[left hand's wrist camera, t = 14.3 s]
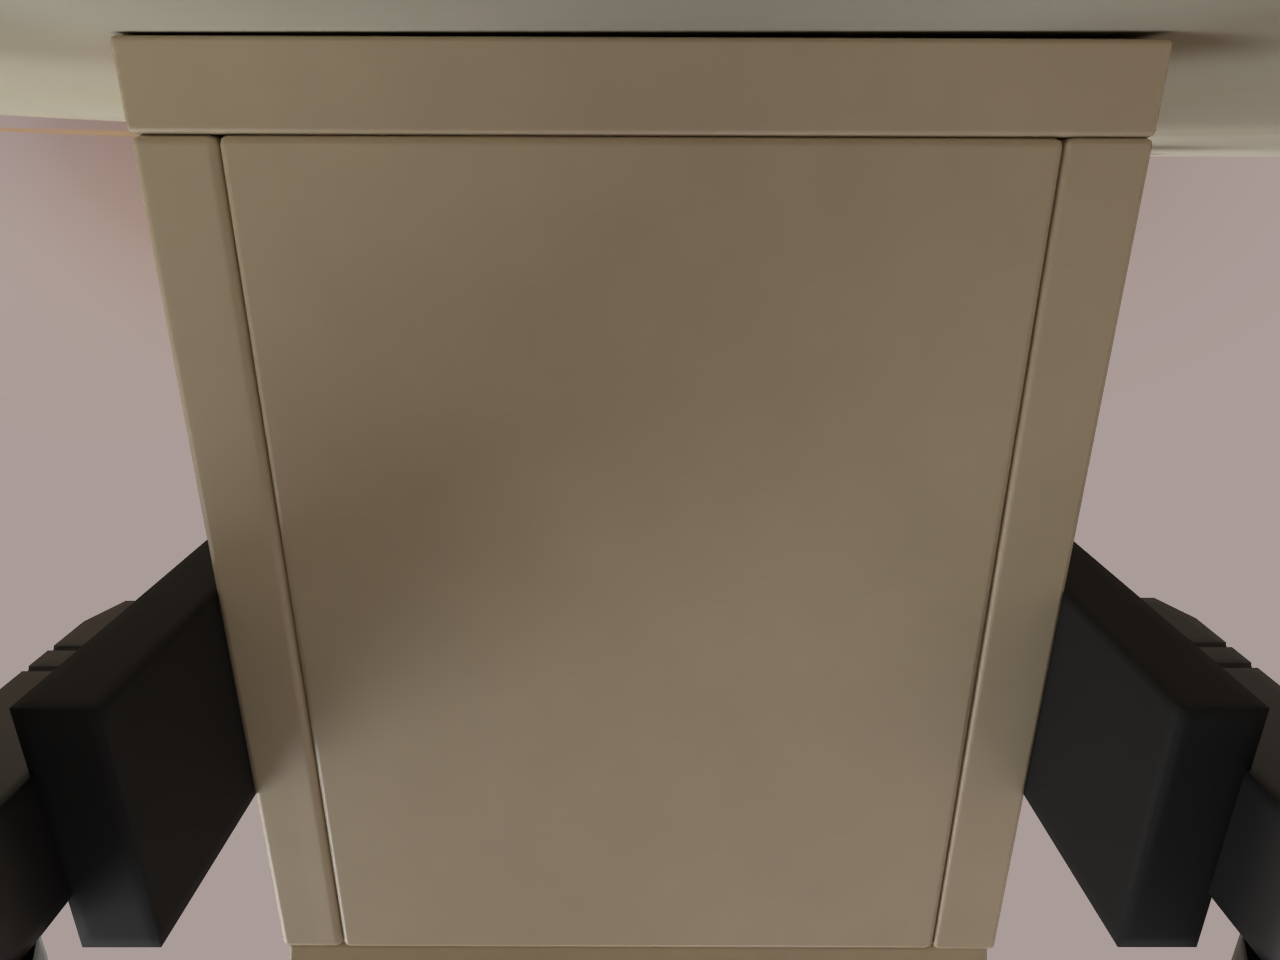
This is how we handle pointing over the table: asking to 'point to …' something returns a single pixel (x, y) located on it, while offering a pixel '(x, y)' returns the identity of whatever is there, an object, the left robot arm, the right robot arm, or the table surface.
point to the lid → (626, 953)
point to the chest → (640, 461)
